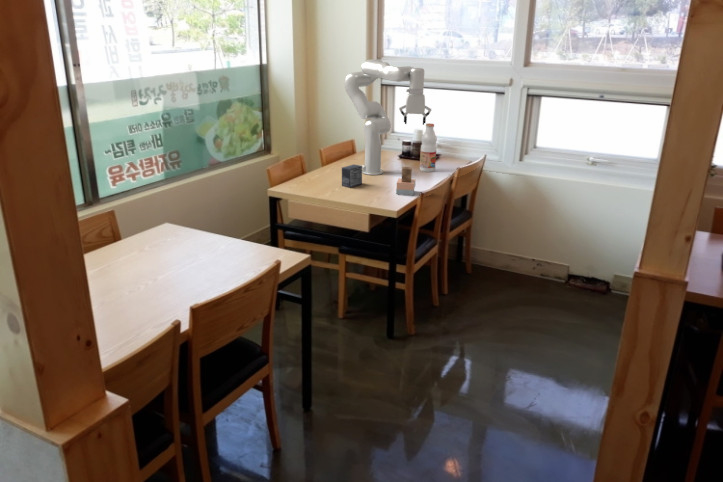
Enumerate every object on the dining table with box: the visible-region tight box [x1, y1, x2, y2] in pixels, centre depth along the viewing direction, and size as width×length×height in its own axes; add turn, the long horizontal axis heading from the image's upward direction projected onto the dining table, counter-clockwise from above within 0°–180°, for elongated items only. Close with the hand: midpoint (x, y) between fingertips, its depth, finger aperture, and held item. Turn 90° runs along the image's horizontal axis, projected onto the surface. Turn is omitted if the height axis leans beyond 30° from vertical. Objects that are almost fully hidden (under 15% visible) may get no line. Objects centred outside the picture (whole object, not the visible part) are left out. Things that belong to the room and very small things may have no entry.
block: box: [401, 166, 413, 182], centre depth 309 cm, size 5×5×7 cm
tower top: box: [396, 177, 417, 191], centre depth 311 cm, size 9×9×4 cm
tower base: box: [395, 189, 415, 196], centre depth 313 cm, size 9×9×4 cm
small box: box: [341, 164, 363, 189], centre depth 323 cm, size 11×6×10 cm, turn 141°
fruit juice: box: [419, 123, 437, 173], centre depth 356 cm, size 9×9×28 cm
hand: (414, 124), depth 323 cm, fingers open, 9 cm apart
